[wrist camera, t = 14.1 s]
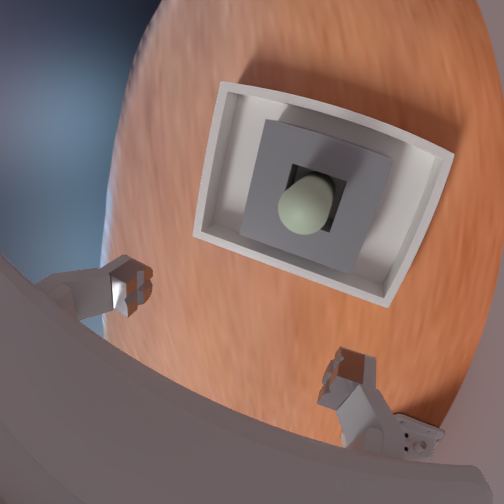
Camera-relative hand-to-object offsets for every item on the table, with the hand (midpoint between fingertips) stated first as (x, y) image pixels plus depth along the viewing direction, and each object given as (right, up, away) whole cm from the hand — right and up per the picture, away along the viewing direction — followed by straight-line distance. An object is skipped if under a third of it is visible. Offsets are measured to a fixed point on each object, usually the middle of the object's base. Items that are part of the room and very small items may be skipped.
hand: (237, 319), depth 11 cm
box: (+8, +10, +20) cm, 23 cm away
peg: (+7, +9, +19) cm, 22 cm away
